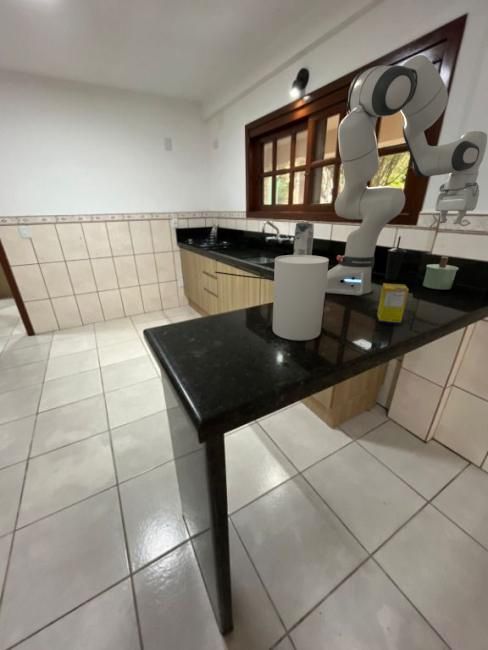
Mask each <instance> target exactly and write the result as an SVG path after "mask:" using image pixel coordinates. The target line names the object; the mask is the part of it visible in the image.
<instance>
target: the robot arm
mask: <svg viewBox="0 0 488 650" xmlns="http://www.w3.org/2000/svg"><path fill="white" fill-rule="evenodd" d="M448 93H449V92H448V90H447V87H446V85H445V82H444V80H443V78H442V76H441V74H440V72H439V69H437V67H436V66H435V65H434V63H433V62H432V60H431V59H430V58H428V57H427V56H426V55H424V54H418V55H415V56H413V57H410V59H408V60H407V61H405V62H404V63H403V64H402V65H387V64H382V65H377V66H370V67H366V68H365V69H363V70H362V71H360V72H359V73H358V74H357V75H356V76H355V77H354V78H353V80H352V81H351V84H350V86H349V90H348V96H347V104H346V112H347V115H346V116H345V117H343V118H342V120H341V121H340V123H339V125H338V131H337V132H338V133H337V134H338V135H337V136H338V150H339V155H340V156H339V157H340V161H341V165H342V171H343V176H344V184H343V188H342V190H341V191H340V193H339V194H338V195H337V197H336V198H335V201H334V211H335V214H336V215H337V216H338V217H340V218H343V219H347V220H362V222H361V224H360V226H359V227H358V228H357V229H354V230H353V231H351V232H350V233H349V234H348V235H347V237H346V242H345V250H344V254H343V255H341V254H338V255H337V256H336V260H337V261H338V264H336V265H335V266H333V267H332V268H331V269H328V272H327V280H326V289H325V294H326V293H327V294H339V295H351V296H362V295H365V294H369V293H371V292H372V291H373V290H372V271H373V270H374V269H373V268H374V265H375V259H376V257H375V253H376V248H377V243H378V240H379V236H380V234H381V232H382V231H383V229H384V228H385V226H386V225H387V224H389V222H390V221H392V220H393V219H394V218H396V217H398V215H400V214H401V212H402V211H403V209H404V207H405V204H406V194H405V192H404V191H403V189H402V188H400V187H395V186H387V185H385V186H375V187H370V186H368V182H370V181H371V180H372V179H374V177H375V176H376V175H377V173H378V171H379V169H380V159H379V151H378V143H377V136H376V126H377V121H378V118H379V117H381V118H386V117H390V116H391V117H392V116H393V115H395V114H397V113H399V112H401V114H402V116H403V118H404V121H403V124H402V136H403V139H404V142H405V145H406V148H407V150H408V153H409V155H410V159H411V162H412V168H413V173H414V174H415V176H416V177H418V178H420V179H425V178H430V177H433V176H434V177H435V176H442V175H448V177H447V180H445V181H444V182H443V183H442V184H441V185H439V186H438V194H437V197H436V202H435V212H440V213H439V217H440V218H439V224H446V223H447V221H448V218H447V215H448V213H449V212H457V216H456V218H454V219H453V224H454V225H460V224H461V223H462V220H463V219H464V217H465V216H466V215H467V212H472V211H475V209H476V208H477V206H478V200H479V196H480V189H479V188H480V186H479V184H478V182H477V179H478V176H479V168H480V166H481V164H482V163H483V160H484V157H485V152H486V149H487V142H488V134H487V133H486V132H484V131H477V130H476V131H469V132H466V133H464V134H463V135H462V136H461V137H460V138H459V139H458V140H455V141H454V142H449V143H445V144H440V145H429V144H428V141H427V138H426V135H425V131H426V130H427V129H430V127H432V126H433V125H434V124H435V123H436V122H437V121H438V119H439V118H440V117H441V116H442V114H443V113H444V111H445V109H446V107H447V104H448V100H449V94H448ZM214 274H219V275H225V276H233V277H240V278H249V279H250V278H251V279H259V280H268V281H269V280H270V281H274V277H264V276H253V275H244V274H235V273H231V272H230V273H229V272H222V271H215V272H214Z"/></svg>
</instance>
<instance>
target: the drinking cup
mask: <svg viewBox="0 0 488 650" xmlns="http://www.w3.org/2000/svg"><path fill="white" fill-rule="evenodd" d="M401 238H402V236H401V235H400V236H398V241H397V246H396V247H392V248H390V249H388V250H387V261H386V269H385V276H384V277H385V280H388V281H396V280H398V279H397V278H398V275H399V273H400V270H401V266H402V263H403V261H404V257H405V255H406V253H407V250H405V249H403V248H401V247H400V242H401Z"/></svg>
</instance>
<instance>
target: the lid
mask: <svg viewBox="0 0 488 650" xmlns="http://www.w3.org/2000/svg"><path fill="white" fill-rule="evenodd" d="M448 260H449V257H448V256H441V257H440V261H439V263H437V264H436V263H434V264H433V263H432V264H431V263H430V264H427V265H425V266H426V269H427V268H430V269H436V270H446V271H454V270H457V271H458V270H459V268H460V267H457V266H455V265H449V264H448V262H449V261H448Z"/></svg>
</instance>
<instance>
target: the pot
mask: <svg viewBox="0 0 488 650" xmlns="http://www.w3.org/2000/svg"><path fill="white" fill-rule="evenodd" d="M457 271H458V270H454V271H446V270H436V269H430V268H427V267H426V270H425V274H424V277H423V281H422V286H423V287H426V288H429V289H434V290H451V289H452V286H453V283H454V280H455V277H456V275H457V274H456V273H457Z"/></svg>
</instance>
